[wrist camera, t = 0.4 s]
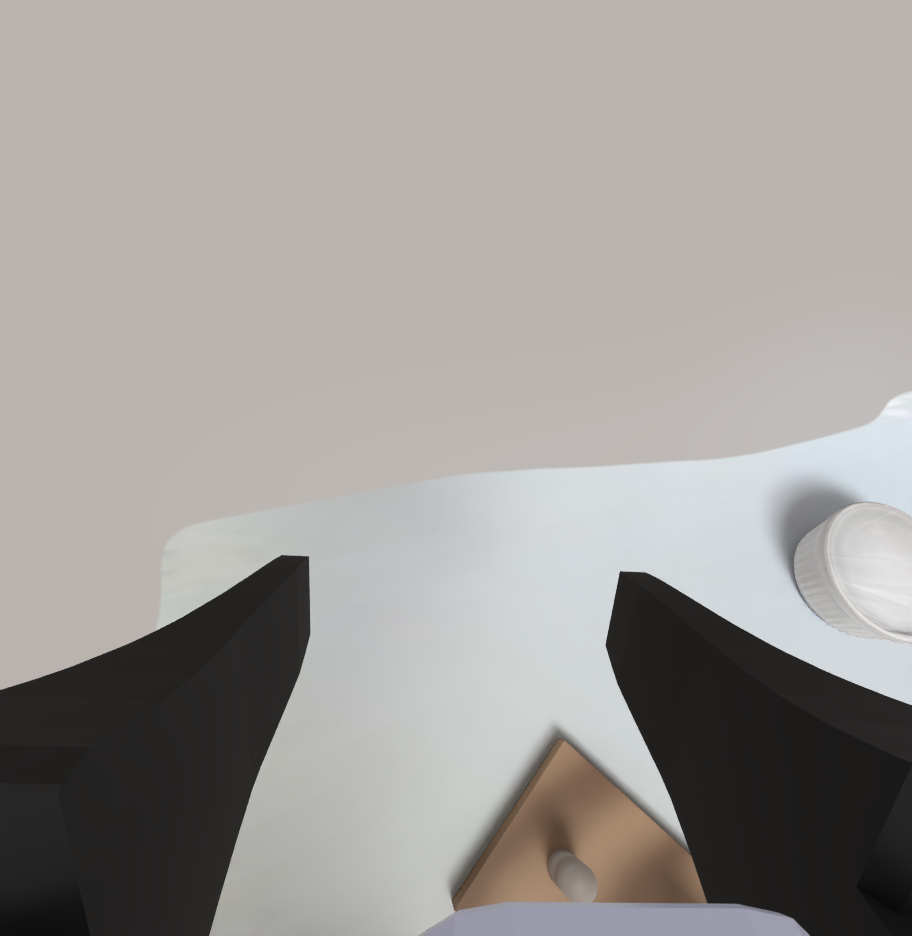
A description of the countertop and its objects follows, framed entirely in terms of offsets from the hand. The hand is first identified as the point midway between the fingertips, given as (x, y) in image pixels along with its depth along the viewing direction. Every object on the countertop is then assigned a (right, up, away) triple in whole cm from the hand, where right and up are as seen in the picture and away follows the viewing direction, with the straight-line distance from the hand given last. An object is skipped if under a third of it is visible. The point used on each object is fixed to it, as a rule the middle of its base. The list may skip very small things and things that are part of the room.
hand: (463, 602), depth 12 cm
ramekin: (+34, -7, +33) cm, 48 cm away
